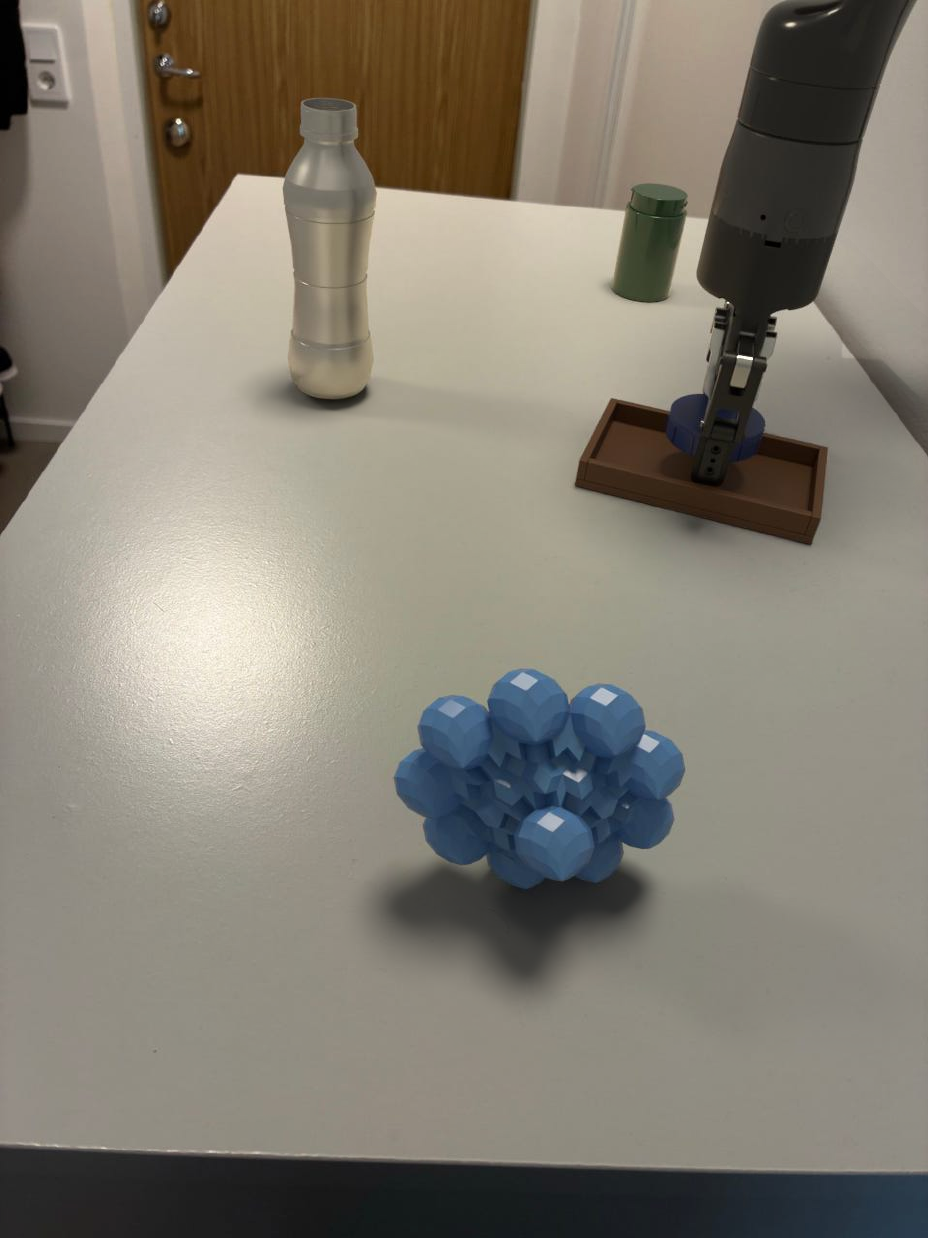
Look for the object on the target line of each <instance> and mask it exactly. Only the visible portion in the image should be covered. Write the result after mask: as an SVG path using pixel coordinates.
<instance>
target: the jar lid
mask: <svg viewBox="0 0 928 1238" xmlns="http://www.w3.org/2000/svg"><path fill="white" fill-rule="evenodd" d="M707 402H708V398H707V397H706V396H705V395H704V393H692V394H687V395H683V396H680V397H678V398H676V400H674V401H673V402H672V403H671V405H670V410H669V411H670V413H669V415H668V418H667V422H666V426H665V431H666V436H667V438H668V440H669V441H670V442H671V443H672V444H673V445H674V446H675V447H677V448H678V449H680V450H681V451H683V452H685V453H687V454H689V455H692V456H694V457H695V455H696V451H697V447H698V443H699V440H700V436H701V432H700V431H701V427H700V423H701V420H703V419H704V415H705V411H706V406H707ZM736 413H737V412H734V411H729V410H723V409H721V410H718V411H717V413H716V417H721V418H727V419H732V420H735V417H736ZM765 428H766V420H765V417H764V416H763V414H761V413H760V411H758V409H756V408H755V407H752V410H751V413H750V416H749V420H748V423H747V426H746V429H745V432H746V434H745V438H744V440H743V439H742V442H741V444H740V445H739V444H734V448H733V451H732V454H731V458H730V461H729V462H738V461H743V460H746V459H749V458H751V457H752V456H754V455H756V453H757V451H758V448H759V445H760V443H761V440H762V436H763V433H765V430H766V429H765Z"/></svg>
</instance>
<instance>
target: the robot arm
mask: <svg viewBox="0 0 928 1238" xmlns="http://www.w3.org/2000/svg"><path fill="white" fill-rule="evenodd" d="M917 1H918V0H782V1H780V2H778V3H776V4H774V5H773V6H772V7H771V8H769V9H768V11H766V13H765V15H764V17H763V19H762V21H761V22H760V25H759V29H758V31H757V34H756V38H755V42H754V46H753V48H752V54H751V57H750V62H749V67H748V70H747V75H746V78H745V83H744V87H743V92H742V96H741V100H740V105H739V108H738V113H737V118H736V120H735V124H734V127H733V131H732V134H731V137H730V139H729V142H728V144H727V147H726V150H725V152H724V156H723V159H722V161H721V165H720V170H719V173H718V177H717V182H716V185H715V191H714V195H713V199H712V203H711V208H710V212H709V216H708V220H707V221H708V222H707V224H706V228H705V233H704V237H703V242H702V245H701V249H700V254H699V259H698V262H697V263H698V264H697V267H696V273H695V275H696V280H697V282H698V284H699V286H700V287H701V288H702V289H703V290H704V291H705V292H706V293H708V294H709V295H711V296H713V297H715V298H717V299H719V300H720V299H721V300H722V299H723V300H724V304H723V307H720V306H716V307H715V309H714V313H713V317H712V321H711V326H710V332H709V333H710V338H709V342H708V347H707V353H706V358H705V361H706V363H708V364H707V368H706V372H705V376H704V381H703V386H702V394H704V395H705V396H706V397H707V398H708V402H707V406H706V411H705V415H704V419H703V420H701V423H700V427H701V431H700V432H701V436H700V440H699V443H698V447H697V451H696V455H695V458H694V462H693V466H692V469H691V476H690V477H691V480H692V481H693V482H694V483H698V484H703V485H709V486H714V487H718V486H720V485H722V484H723V482H724V478H725V475H726V471H727V468H728V465H729V461H730V458H731V454H732V451H733V448H734V444H739V445H740V444H741V442H742V439H743V440H744V438H745V434H746V432H745V429H746V426H747V423H748V420H749V416H750V413H751V410H752V407H753V406H754V403H755V402H756V401H757V400H758V398H759V393H760V391H761V385H762V381H763V378H764V374H765V373H766V371H767V369H768V363H767V362H768V360H769V359H770V358H771V357H772V356H773V354H774V350H775V347H776V342H777V338H778V331H775V330H776V326H777V322H778V316H773V314H775V313H778V312H781V311H785V310H787V311H795V310H799V309H803V308H804V307H807V306H809V305H811V304H812V303H813V302H815V300H816V299H817V297H818V296H819V294H820V289H821V287H822V283H823V281H824V278H825V274H826V272H827V269H828V265H829V262H830V258H831V256H832V253H833V250H834V247H835V243H836V241H837V237H838V234H839V231H840V227H841V225H842V221H843V219H844V215H845V212H846V210H847V206H848V202H849V200H850V197H851V193H852V190H853V186H854V183H855V179H856V176H857V175H856V174H857V169H858V163H859V158H860V153H861V149H862V146H863V141H864V137H865V135H866V131H867V128H868V126H869V122H870V119H871V116H872V113H873V110H874V106H875V103H876V100H877V97H878V94H879V91H880V89H881V88H880V87H881V84H882V81H883V78H884V75H885V72H886V70H887V66H888V64H889V60H890V58H891V56H892V53H893V50H894V49H895V46H896V44H897V42H898V40H899V38H900V36H901V33H902V31H903V29H904V27H905V25H906V23H907V21H908V19H909V17H910V15H911V13H912V11H913V10H914V7H915V6H916V4H917ZM753 408H754V407H753ZM721 409H723V410H729V411H734V412H737V413H736V417H735V420H732V419H727V418H721V417H716V413H717V411H718V410H721Z"/></svg>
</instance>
